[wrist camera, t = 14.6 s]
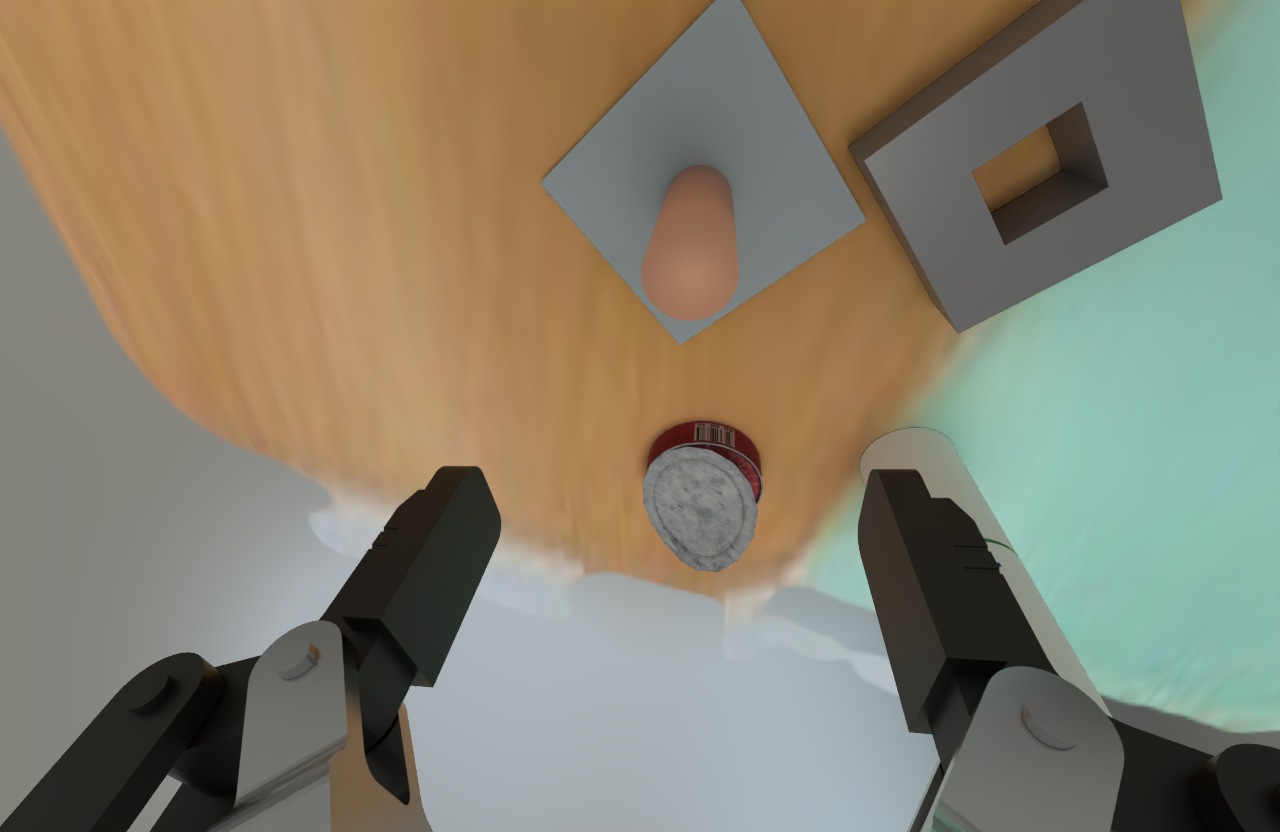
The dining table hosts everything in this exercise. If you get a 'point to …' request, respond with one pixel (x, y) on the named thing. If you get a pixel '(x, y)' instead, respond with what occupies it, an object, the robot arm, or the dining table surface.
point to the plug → (693, 247)
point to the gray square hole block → (1083, 137)
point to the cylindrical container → (955, 482)
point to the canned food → (704, 492)
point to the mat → (708, 160)
